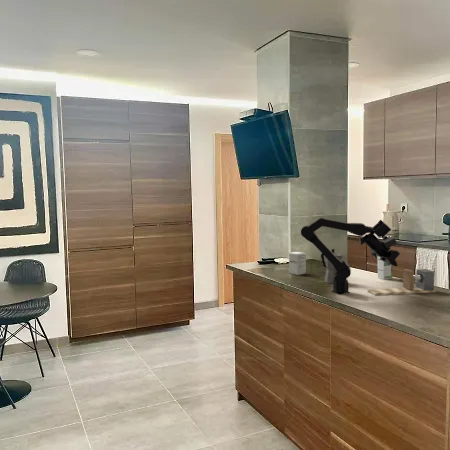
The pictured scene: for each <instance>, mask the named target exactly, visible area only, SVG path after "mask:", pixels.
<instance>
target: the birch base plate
mask: <svg viewBox="0 0 450 450" xmlns="http://www.w3.org/2000/svg"><path fill="white" fill-rule="evenodd" d="M367 293H369V294H371V295H373V296H390V295H391V296H393V295H407V294H408V295H409V294H410V295H412V294H425V293H426V294H428V293H429V294H430V293H432V294H433V293H436V290H435V289H434V290H426V291H424V290H421V289H419V288H416V286H414V290H408V289H406V288H404V287H396V288H395V287H394V288H393V287H392V288H377V289H376V288H373V289H367Z"/></svg>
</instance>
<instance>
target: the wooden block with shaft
mask: <svg viewBox="0 0 450 450" xmlns="http://www.w3.org/2000/svg"><path fill="white" fill-rule="evenodd" d="M402 269H403V270H402V271H403V272H402V273H403V274H402V275H403V278H402V280H403V282H402V283H403V285H402V288H406V289H408V290H414V287H415V286H414V284H415V282H416V281H422V279H423V275H415V273H414V270H411V269H409V268H402Z"/></svg>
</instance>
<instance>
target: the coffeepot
mask: <svg viewBox="0 0 450 450" xmlns="http://www.w3.org/2000/svg"><path fill="white" fill-rule="evenodd" d="M335 250H336V249H334V248H332V249H331V251H332V253H333V254H334V255H335V256H336V257H337V258H338V259H340V260H341V261H342V260H343V259H342V258H343V257H344V256H343V254H341V253H339V252H335ZM320 258H321V262H322V266H323V268H326V271H325V274H324V275H325V276H324V282H325V283H327V284H333V280H335V279H334V275H335V273H336V272H337V271H336V269H335V268H334V266H333V264H332V263H331V262H330V261H329V260H328V259H327V258H326V257H325V256H324V255H323V254H322V253H320Z"/></svg>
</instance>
